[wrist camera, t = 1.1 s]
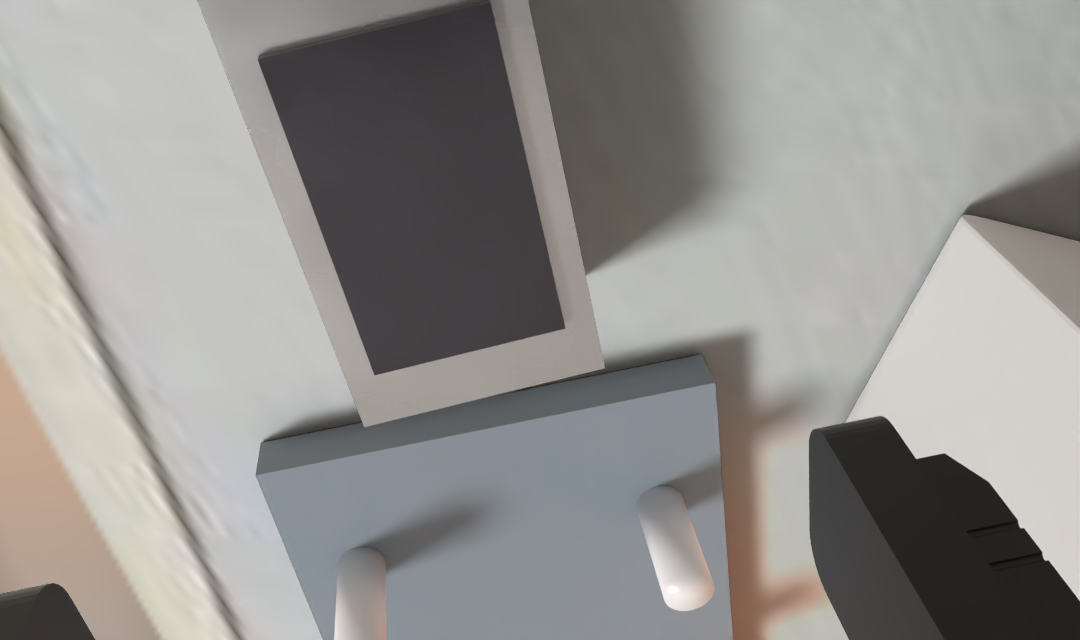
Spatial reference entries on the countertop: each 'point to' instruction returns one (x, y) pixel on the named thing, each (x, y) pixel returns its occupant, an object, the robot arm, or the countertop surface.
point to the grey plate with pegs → (516, 515)
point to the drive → (417, 191)
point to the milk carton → (996, 375)
